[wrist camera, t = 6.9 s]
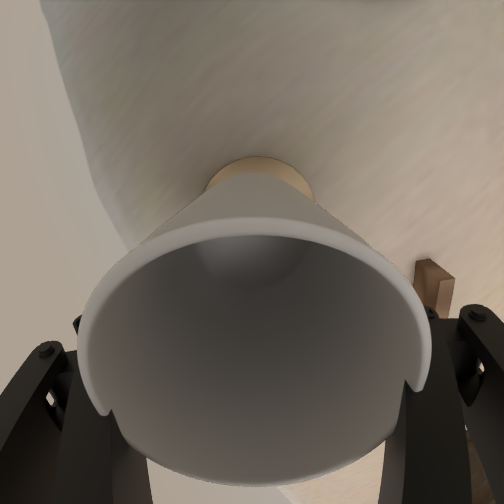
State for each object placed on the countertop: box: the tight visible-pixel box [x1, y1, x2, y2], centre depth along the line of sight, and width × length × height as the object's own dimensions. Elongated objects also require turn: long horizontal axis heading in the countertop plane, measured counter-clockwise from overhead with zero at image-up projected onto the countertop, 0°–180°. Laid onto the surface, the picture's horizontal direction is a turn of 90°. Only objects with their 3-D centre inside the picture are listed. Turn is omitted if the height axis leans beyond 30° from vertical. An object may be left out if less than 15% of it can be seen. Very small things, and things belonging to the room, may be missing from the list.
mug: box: [77, 172, 432, 487], centre depth 11 cm, size 10×7×12 cm, turn 23°
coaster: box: [204, 157, 315, 202], centre depth 26 cm, size 10×10×1 cm
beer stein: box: [466, 431, 496, 504], centre depth 31 cm, size 15×11×20 cm
